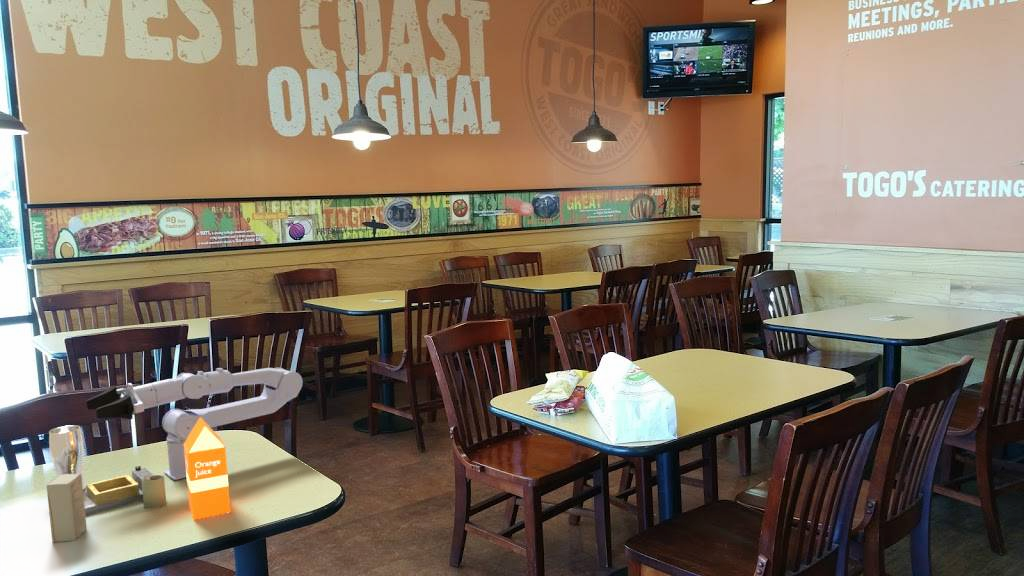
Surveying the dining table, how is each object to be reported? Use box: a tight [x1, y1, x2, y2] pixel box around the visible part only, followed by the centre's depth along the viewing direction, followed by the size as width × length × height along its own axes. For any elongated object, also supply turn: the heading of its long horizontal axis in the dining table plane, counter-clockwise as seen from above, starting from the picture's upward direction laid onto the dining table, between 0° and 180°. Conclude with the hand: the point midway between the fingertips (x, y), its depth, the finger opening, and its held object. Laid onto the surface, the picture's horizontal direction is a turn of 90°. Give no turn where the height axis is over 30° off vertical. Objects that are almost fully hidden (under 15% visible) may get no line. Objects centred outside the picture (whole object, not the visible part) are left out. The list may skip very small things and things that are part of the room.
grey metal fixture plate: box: [83, 465, 155, 516], centre depth 183 cm, size 18×12×5 cm, turn 130°
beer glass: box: [48, 425, 86, 491], centre depth 190 cm, size 7×7×15 cm
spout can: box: [142, 474, 167, 510], centre depth 178 cm, size 5×5×7 cm
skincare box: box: [46, 473, 87, 543], centre depth 163 cm, size 6×4×12 cm
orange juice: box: [184, 417, 231, 521], centre depth 174 cm, size 8×9×20 cm
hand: (91, 409), depth 184 cm, fingers open, 7 cm apart
